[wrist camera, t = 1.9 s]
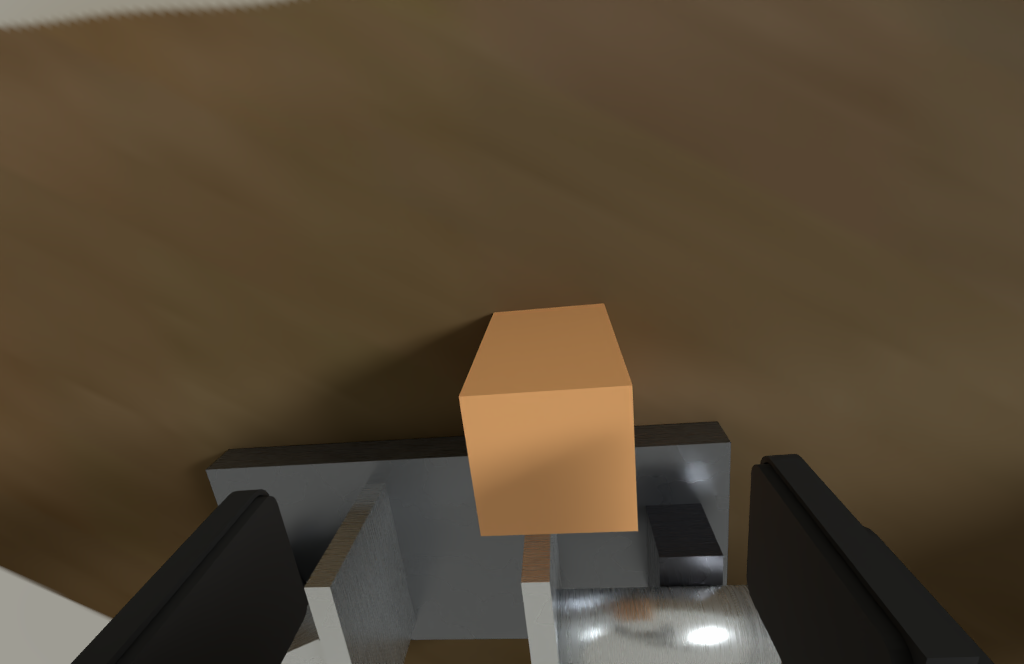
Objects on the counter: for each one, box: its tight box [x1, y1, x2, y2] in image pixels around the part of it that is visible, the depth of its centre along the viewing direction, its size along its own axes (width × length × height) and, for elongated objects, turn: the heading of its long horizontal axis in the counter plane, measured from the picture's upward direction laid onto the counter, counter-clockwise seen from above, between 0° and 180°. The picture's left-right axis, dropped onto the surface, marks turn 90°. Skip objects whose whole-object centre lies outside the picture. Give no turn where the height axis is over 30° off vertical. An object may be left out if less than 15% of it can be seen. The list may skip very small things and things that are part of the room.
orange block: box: [459, 303, 638, 536], centre depth 15 cm, size 4×4×7 cm
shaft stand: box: [206, 422, 781, 664], centre depth 18 cm, size 20×9×6 cm, turn 96°
